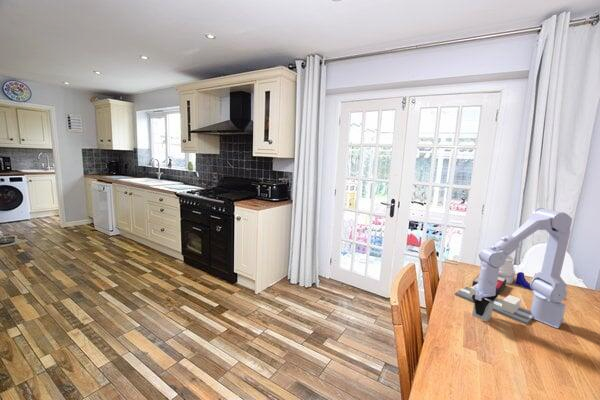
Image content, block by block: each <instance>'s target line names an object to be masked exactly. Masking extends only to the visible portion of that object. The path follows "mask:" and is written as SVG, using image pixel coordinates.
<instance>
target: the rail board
mask: <svg viewBox="0 0 600 400" xmlns="http://www.w3.org/2000/svg"><path fill="white" fill-rule="evenodd" d="M470 288H471V287H469V286H465V287H463V288H460V289H459V290H458V291H456V292H455V293H454V295H455V296H456V297H458V298H462V299H464V300H465V301H466V300H467V301H468V302H471V303H473V304H474V301H473V299H472V297H470V296H469V294H470ZM503 300H504V299H501V298H498V297H497V298H496V299H495V300H494V305H493V310H492V312H494V313H497V314H499V315H502V316H504V317H507V318H509V319H512V320H514V321H516V322H519V323H521V324H523V325H526V326H527V325H528V324H530V322H531V321H532V320H533V319H532V318H533V315H532V314H531V313H530V311H531V309H527V308H524V307H522V306H520V308H519V309H518V310H517V311H516V312H515V313H514V314H512V313H510V312H507V311H505V310H502V309H501V307H502V302H503Z"/></svg>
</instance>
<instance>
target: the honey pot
mask: <svg viewBox="0 0 600 400" xmlns="http://www.w3.org/2000/svg"><path fill="white" fill-rule="evenodd" d="M514 261H515V259H514V258H513V257H511V254H510V255H508V257H507V259H506V261H505V263H504V265H502V266H500V268H499V274H498V277H501V278H504V279H506V284H512V283H514V281H515V273H516V271H515V268H514V263H513V262H514Z"/></svg>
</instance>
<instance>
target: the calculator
mask: <svg viewBox="0 0 600 400" xmlns="http://www.w3.org/2000/svg"><path fill="white" fill-rule="evenodd" d="M479 275H480V273H479V274H478V275H477V276H476V277H475V278H474V280H472V286H471V287H473V286H474V285H476V284H478V281H479ZM506 284H507V283H506V279H504V278H501V277H498V279H497V285H496V294H497V295H498V296H499V295H500V294H501V292H503V289H504V288H505V287H506Z"/></svg>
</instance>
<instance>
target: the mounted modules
mask: <svg viewBox="0 0 600 400" xmlns="http://www.w3.org/2000/svg"><path fill="white" fill-rule="evenodd" d="M474 286H478V284H476V285H474ZM474 286H471V287H470V294H469V296H470V297H472V295H474V294H475V295H476V292H477V290H476V289H474ZM502 300H503V302H502V307H501V309H502V310H505V311H507V312H510V313H512V314H514V313H515V312H516V311H517V310H518V309H519V308H520V307H521V301H522V298H519V297H517V296H514V295H511V294H509V295H507V296H506V297H505V298H503V299H502Z"/></svg>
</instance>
